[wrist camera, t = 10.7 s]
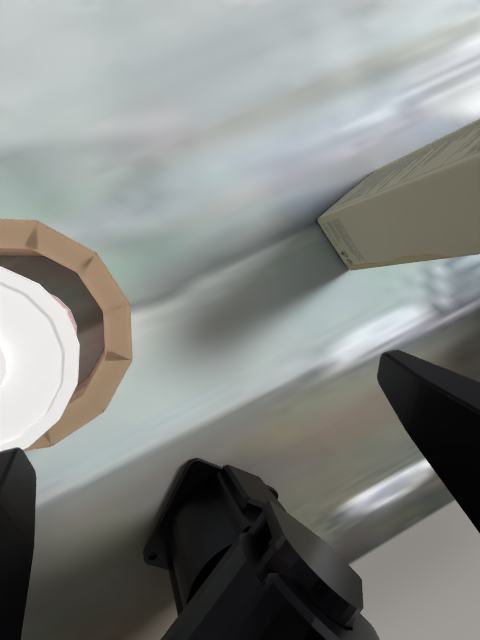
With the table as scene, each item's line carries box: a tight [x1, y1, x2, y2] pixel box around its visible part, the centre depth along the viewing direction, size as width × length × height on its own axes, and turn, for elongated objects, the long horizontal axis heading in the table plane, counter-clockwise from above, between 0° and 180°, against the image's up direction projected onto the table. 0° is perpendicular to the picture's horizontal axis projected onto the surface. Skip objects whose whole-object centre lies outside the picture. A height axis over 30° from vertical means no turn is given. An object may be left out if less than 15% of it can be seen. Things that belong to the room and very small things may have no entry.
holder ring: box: [0, 219, 132, 451], centre depth 18 cm, size 10×10×4 cm
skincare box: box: [318, 119, 480, 270], centre depth 20 cm, size 6×4×12 cm
